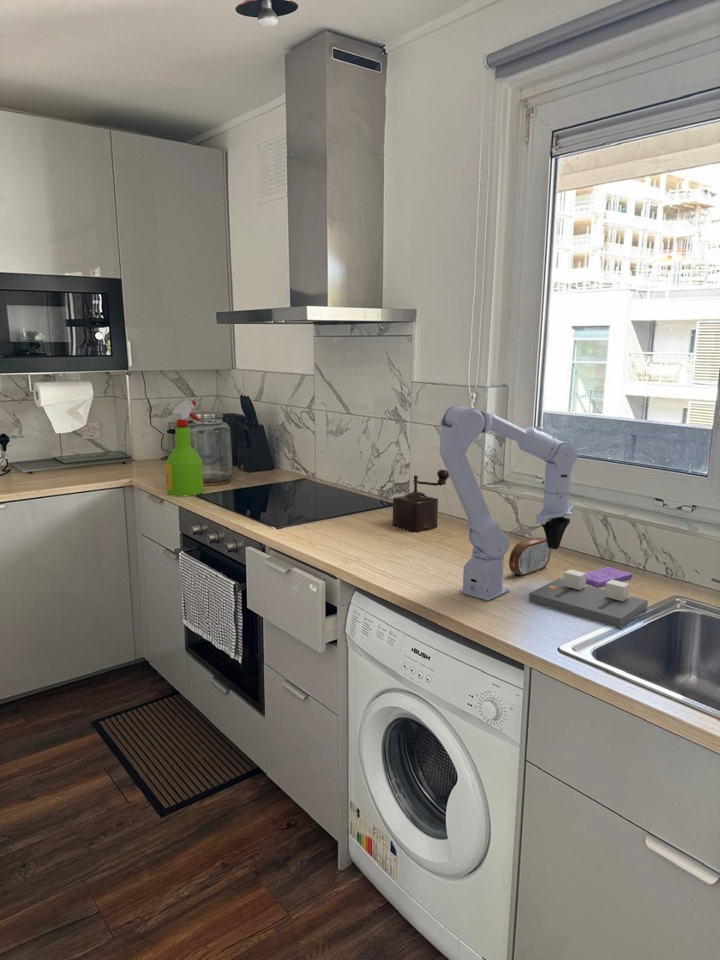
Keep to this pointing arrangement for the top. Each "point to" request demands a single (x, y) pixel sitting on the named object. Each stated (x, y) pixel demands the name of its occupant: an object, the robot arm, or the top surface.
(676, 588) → the top surface
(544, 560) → the tin
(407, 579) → the top surface
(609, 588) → the block
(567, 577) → the off-white cube
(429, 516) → the manual coffee grinder
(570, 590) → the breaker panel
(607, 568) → the sponges
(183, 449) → the spray bottle
